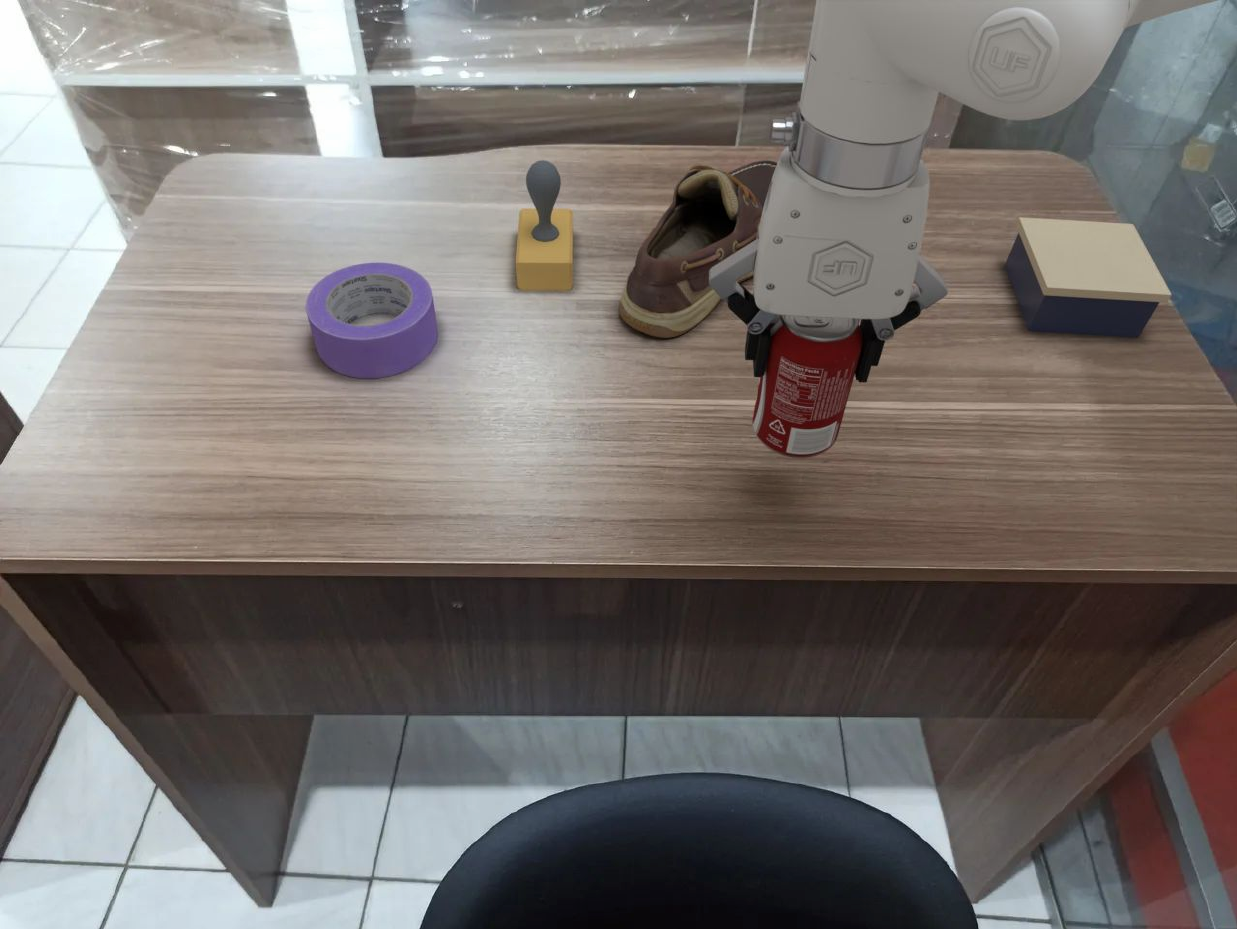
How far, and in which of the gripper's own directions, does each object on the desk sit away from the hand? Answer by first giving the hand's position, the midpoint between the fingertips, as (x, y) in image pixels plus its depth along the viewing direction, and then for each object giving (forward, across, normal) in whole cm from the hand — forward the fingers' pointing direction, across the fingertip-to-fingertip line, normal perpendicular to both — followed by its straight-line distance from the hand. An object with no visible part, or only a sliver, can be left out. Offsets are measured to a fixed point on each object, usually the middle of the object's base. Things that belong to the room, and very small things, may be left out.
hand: (808, 365), depth 67 cm
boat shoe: (+14, -6, +32) cm, 36 cm away
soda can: (+7, 0, 0) cm, 7 cm away
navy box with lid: (+15, +32, +29) cm, 46 cm away
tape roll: (+14, -39, +16) cm, 44 cm away
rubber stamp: (+14, -24, +30) cm, 41 cm away
